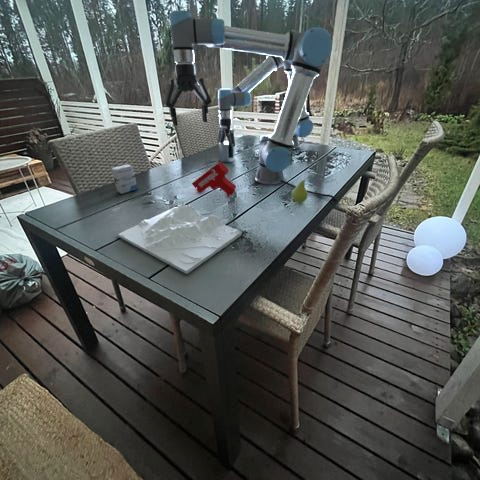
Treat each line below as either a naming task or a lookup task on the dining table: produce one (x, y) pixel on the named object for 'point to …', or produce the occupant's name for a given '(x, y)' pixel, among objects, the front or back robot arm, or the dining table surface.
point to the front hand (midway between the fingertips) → (190, 123)
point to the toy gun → (215, 180)
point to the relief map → (181, 237)
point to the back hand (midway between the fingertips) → (226, 155)
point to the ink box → (124, 178)
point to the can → (225, 152)
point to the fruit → (300, 192)
